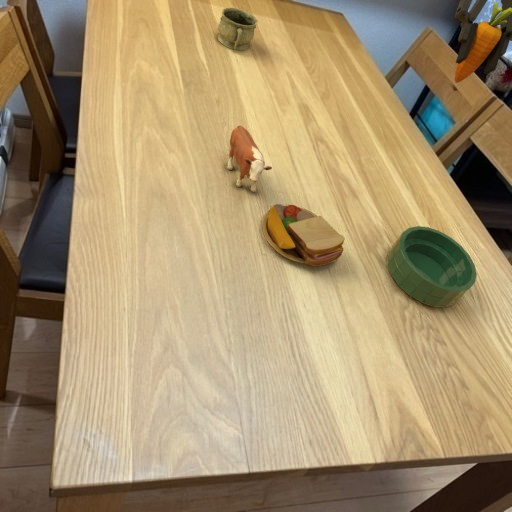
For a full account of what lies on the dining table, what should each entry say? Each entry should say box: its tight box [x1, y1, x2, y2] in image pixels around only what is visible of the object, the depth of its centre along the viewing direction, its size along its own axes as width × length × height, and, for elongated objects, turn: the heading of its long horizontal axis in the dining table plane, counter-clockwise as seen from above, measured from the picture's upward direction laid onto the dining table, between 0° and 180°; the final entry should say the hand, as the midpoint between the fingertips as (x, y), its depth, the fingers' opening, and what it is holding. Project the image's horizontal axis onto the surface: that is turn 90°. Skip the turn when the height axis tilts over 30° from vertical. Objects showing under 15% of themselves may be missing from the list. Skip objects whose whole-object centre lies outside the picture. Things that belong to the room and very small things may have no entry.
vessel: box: [217, 7, 258, 51], centre depth 117 cm, size 12×9×6 cm
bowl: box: [386, 225, 478, 308], centre depth 81 cm, size 14×14×5 cm
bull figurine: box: [226, 124, 273, 193], centre depth 83 cm, size 4×13×8 cm, turn 15°
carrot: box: [454, 1, 512, 84], centre depth 90 cm, size 5×5×15 cm
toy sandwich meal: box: [261, 203, 346, 267], centre depth 78 cm, size 12×14×5 cm
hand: (475, 65), depth 89 cm, fingers closed on carrot, 5 cm apart
